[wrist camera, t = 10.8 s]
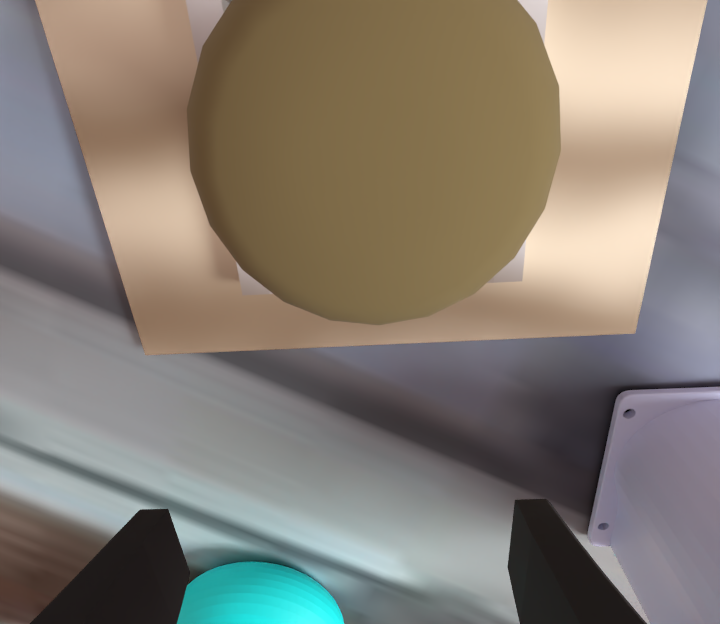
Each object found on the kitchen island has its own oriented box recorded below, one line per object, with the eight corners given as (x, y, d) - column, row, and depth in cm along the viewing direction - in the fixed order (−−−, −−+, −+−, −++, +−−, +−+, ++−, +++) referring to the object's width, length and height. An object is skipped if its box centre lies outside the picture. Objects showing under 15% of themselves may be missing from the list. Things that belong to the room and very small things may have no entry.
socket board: (627, 326, 19) (651, 348, 17) (151, 347, 20) (131, 370, 18) (740, -220, 12) (797, -268, 10) (3, -143, 13) (-49, -175, 11)
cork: (243, 102, 15) (-4, 131, 5) (389, -43, 13) (436, -413, 3) (360, 242, 17) (341, 454, 7) (501, 131, 15) (734, 211, 5)
